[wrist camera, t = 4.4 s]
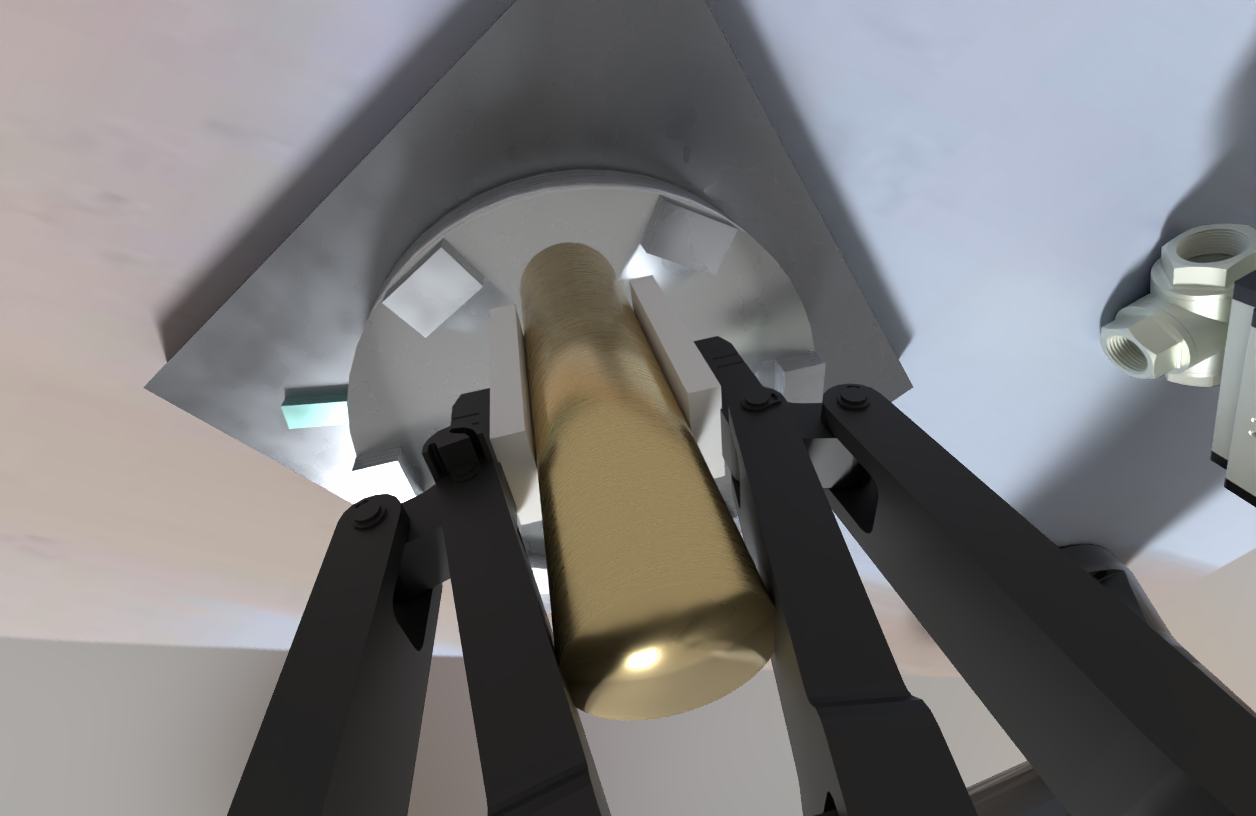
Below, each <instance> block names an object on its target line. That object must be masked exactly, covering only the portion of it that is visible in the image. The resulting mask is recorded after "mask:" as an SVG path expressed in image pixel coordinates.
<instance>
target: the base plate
mask: <svg viewBox="0 0 1256 816" xmlns="http://www.w3.org/2000/svg"><path fill="white" fill-rule="evenodd" d="M573 169H601V170H616V171H622V172H628V173H634V174H641V175H645V176H648V177H652V178H655V179H658V180H661V181H664V182H667V183H671V184H674V185H676V186H678V187H680V188H682V189H684V190H686V191H688V192H690V193H692V194H694V195H696V196H699V197H701V198H702V199H704V200H705V201H707V202H708V203H710V204H711V205H712V206H714V207H715V208H717V209H718V210H720V211H721V212H723V213H724V214H725V215H727V216H728V217H729V218H730V219H731V220H733V221H734V222H735V223H736V224H737V225H738V226H740V227H741V228H742V229H743V230H744V231H745V232H747V233H748V234H749V235H750V236H751V237H753V238H754V239H755V240H756V241H757V242H758V243H759V244H760V245H761V246H762V247H763V248H764V249H765V250H766V251H767V252H768V253H769V254H770V255H771V256H772V257H773V258H774V259H775V260H776V261H777V263H778V264H779V265H780V267H781V268H782V269H783V271H784V272H785V273H786V275H787V276H788V277H789V279H790V280H791V282H792V284H793V286H794V287H795V289H796V291H797V293H798V295H799V297H800V299H801V301H802V303H803V305H804V308H805V311H806V314H807V317H808V321H809V324H810V327H811V331H812V337H813V344H814V350H815V352H816V353H817V354H818V355H819V356H820V358H821V359H822V360H823V361H824V362H825V363H826V365H825V376H824V388H823V394H824V393H825V392H826V391H827V390H828V389H829V388H832V387H834V386H836V385H841V384H848V383H849V384H861V385H864V386H867V387H871V388H873V389H874V390H876V391H878V392H879V393H881V394H882V395H883V396H884V397H885V398H886V399H888V400H889V401H890V402H892V401H893V400H895V399H896V398H898V397H899V396H901V395H902V394H904V393H905V392H907V391H908V390H910V389H911V388H913V386H912V384H911V382H910V380H909V378H908V376H907V374H906V373H905V371H904V369H903V367H902V365H901V363H900V361H899V360H898V358H897V356H896V354H895V352H894V350H893V348H892V346H891V345H890V343H889V341H888V339H887V337H886V335H885V333H884V332H883V330H882V328H881V326H880V324H879V322H878V320H877V319H876V317H875V315H874V313H873V311H872V309H871V307H870V306H869V304H868V302H867V300H866V298H865V296H864V294H863V293H862V291H861V289H860V287H859V285H858V283H857V281H856V279H855V278H854V276H853V274H852V272H851V270H850V268H849V266H848V265H847V263H846V261H845V259H844V257H843V255H842V253H841V252H840V250H839V248H838V246H837V244H836V242H835V240H834V239H833V237H832V235H831V233H830V231H829V229H828V227H827V226H826V224H825V222H824V220H823V218H822V216H821V214H820V212H819V211H818V209H817V207H816V205H815V203H814V201H813V199H812V198H811V196H810V194H809V192H808V190H807V188H806V186H805V185H804V183H803V181H802V179H801V177H800V175H799V173H798V172H797V170H796V168H795V166H794V164H793V162H792V160H791V159H790V157H789V155H788V153H787V151H786V149H785V147H784V145H783V144H782V142H781V140H780V138H779V136H778V134H777V132H776V131H775V129H774V127H773V125H772V123H771V121H770V119H769V118H768V116H767V114H766V112H765V110H764V108H763V106H762V105H761V103H760V101H759V99H758V97H757V95H756V93H755V92H754V90H753V88H752V86H751V84H750V82H749V80H748V78H747V77H746V75H745V73H744V71H743V69H742V67H741V65H740V64H739V62H738V60H737V58H736V56H735V54H734V52H733V51H732V49H731V47H730V45H729V43H728V41H727V39H726V38H725V36H724V34H723V32H722V30H721V28H720V26H719V25H718V23H717V21H716V19H715V17H714V15H713V13H712V11H711V10H710V8H709V6H708V4H707V2H706V0H516V1H515V2H514V3H513V4H512V5H511V6H510V7H509V8H508V10H507V11H506V12H505V13H504V14H503V15H502V16H501V17H500V18H499V19H498V20H497V21H496V22H495V23H494V24H493V25H492V26H491V27H490V28H489V29H488V30H487V31H486V32H485V33H484V34H483V35H482V36H481V38H480V39H479V40H478V41H477V42H476V43H475V44H474V45H473V46H472V47H471V48H470V49H469V50H468V51H467V52H466V53H465V54H464V55H463V56H462V57H461V58H460V59H459V60H458V61H457V62H456V63H455V64H454V66H453V67H452V68H451V69H450V70H449V71H448V72H447V73H446V74H445V75H444V76H443V77H442V78H441V79H440V80H439V81H438V82H437V83H436V84H435V85H434V86H433V87H432V88H431V89H430V90H429V91H428V92H427V94H426V95H425V96H424V97H423V98H422V99H421V100H420V101H419V102H418V103H417V104H416V105H415V106H414V107H413V108H412V109H411V110H410V111H409V112H408V113H407V114H406V115H405V116H404V117H403V118H402V119H401V120H400V122H399V123H398V124H397V125H396V126H395V127H394V128H393V129H392V130H391V131H390V132H389V133H388V134H387V135H386V136H385V137H384V138H383V139H382V140H381V141H380V142H379V143H378V144H377V145H376V146H375V147H374V148H373V150H372V151H371V152H370V153H369V154H368V155H367V156H366V157H365V158H364V159H363V160H362V161H361V162H360V163H359V164H358V165H357V166H356V167H355V168H354V169H353V170H352V171H351V172H350V173H349V174H348V175H347V177H346V178H345V179H344V180H343V181H342V182H341V183H340V184H339V185H338V186H337V187H336V188H335V189H334V190H333V191H332V192H331V193H330V194H329V195H328V196H327V197H326V198H325V199H324V200H323V201H322V202H321V203H320V205H319V206H318V207H317V208H316V209H315V210H314V211H313V212H312V213H311V214H310V215H309V216H308V217H307V218H306V219H305V220H304V221H303V222H302V223H301V224H300V225H299V226H298V227H297V228H296V229H295V230H294V231H293V233H292V234H291V235H290V236H289V237H288V238H287V239H286V240H285V241H284V242H283V243H282V244H281V245H280V246H279V247H278V248H277V249H276V250H275V251H274V252H273V253H272V254H271V255H270V256H269V257H268V258H267V259H266V261H265V262H264V263H263V264H262V265H261V266H260V267H259V268H258V269H257V270H256V271H255V272H254V273H253V274H252V275H251V276H250V277H249V278H248V279H247V280H246V281H245V282H244V283H243V284H242V285H241V286H240V287H239V289H238V290H237V291H236V292H235V293H234V294H233V295H232V296H231V297H230V298H229V299H228V300H227V301H226V302H225V303H224V304H223V305H222V306H221V307H220V308H219V309H218V310H217V311H216V312H215V313H214V314H213V316H212V317H211V318H210V319H209V320H208V321H207V322H206V323H205V324H204V325H203V326H202V327H201V328H200V329H199V330H198V331H197V332H196V333H195V334H194V335H193V336H192V337H191V338H190V339H189V340H188V341H187V342H186V344H185V345H184V346H183V347H182V348H181V349H180V350H179V351H178V352H177V353H176V354H175V355H174V356H173V357H172V358H171V359H170V360H169V361H168V362H167V363H166V364H165V365H164V366H163V367H162V369H161V370H160V371H159V372H158V373H157V374H156V375H155V376H154V377H153V378H152V379H151V380H150V381H149V382H148V383H147V384H146V386H145V387H144V388H145V389H147V390H148V391H150V392H152V393H154V394H156V395H157V396H159V397H161V398H163V399H165V400H166V401H168V402H170V403H172V404H174V405H175V406H177V407H179V408H181V409H183V410H185V411H186V412H188V413H190V414H192V415H194V416H195V417H197V418H199V419H201V420H203V421H204V422H206V423H208V424H210V425H212V426H213V427H215V428H217V429H219V430H221V431H222V432H224V433H226V434H228V435H230V436H231V437H233V438H235V439H237V440H239V441H240V442H242V443H244V444H246V445H248V446H249V447H251V448H253V449H255V450H257V451H258V452H260V453H262V454H264V455H266V456H267V457H269V458H271V459H273V460H275V461H276V462H278V463H280V464H282V465H284V466H286V467H287V468H289V469H291V470H293V471H295V472H296V473H298V474H300V475H302V476H304V477H305V478H307V479H309V480H311V481H313V482H314V483H316V484H318V485H320V486H322V487H323V488H325V489H327V490H329V491H331V492H332V493H334V494H336V495H338V496H340V497H341V498H343V499H345V500H347V501H349V502H350V503H352V504H355V503H357V502H358V501H360V500H362V499H364V498H366V496H365V494H364V493H363V491H362V489H361V487H360V486H359V484H358V482H357V481H356V479H355V477H354V475H353V474H352V472H351V471H352V468H353V465H354V462H355V458H356V453H355V449H354V445H353V442H352V438H351V435H350V429H349V419H348V409H347V398H348V385H349V374H350V371H351V367H352V363H353V359H354V355H355V351H356V347H357V344H358V342H359V339H360V337H361V335H362V332H363V330H364V327H365V325H366V322H367V320H368V318H369V315H370V313H371V310H372V308H373V306H374V304H375V301H376V299H377V297H378V295H379V292H380V290H381V288H382V286H383V284H384V282H385V281H386V279H387V278H388V276H389V274H390V273H391V271H392V270H393V268H394V267H395V265H396V264H397V262H398V261H399V259H400V258H401V257H402V256H403V254H404V253H405V252H406V251H407V250H408V249H409V248H410V247H411V246H412V244H413V243H414V242H415V241H416V240H417V239H418V238H419V237H420V236H421V235H422V234H423V233H424V232H425V231H426V230H428V229H429V228H430V227H431V226H432V225H434V224H435V223H436V222H437V221H438V220H440V219H441V218H442V217H443V216H445V215H446V214H447V213H449V212H450V211H452V210H454V209H455V208H457V207H459V206H460V205H462V204H464V203H465V202H467V201H469V200H470V199H472V198H474V197H475V196H477V195H479V194H482V193H484V192H487V191H489V190H491V189H494V188H496V187H498V186H501V185H503V184H505V183H508V182H511V181H515V180H519V179H522V178H526V177H530V176H534V175H537V174H541V173H548V172H556V171H565V170H573ZM540 595H541V598H542V601H543V604H544V607H545V610H546V611H547V612H549V613H551V605H550V595H549V594H542V593H540Z"/></svg>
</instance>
